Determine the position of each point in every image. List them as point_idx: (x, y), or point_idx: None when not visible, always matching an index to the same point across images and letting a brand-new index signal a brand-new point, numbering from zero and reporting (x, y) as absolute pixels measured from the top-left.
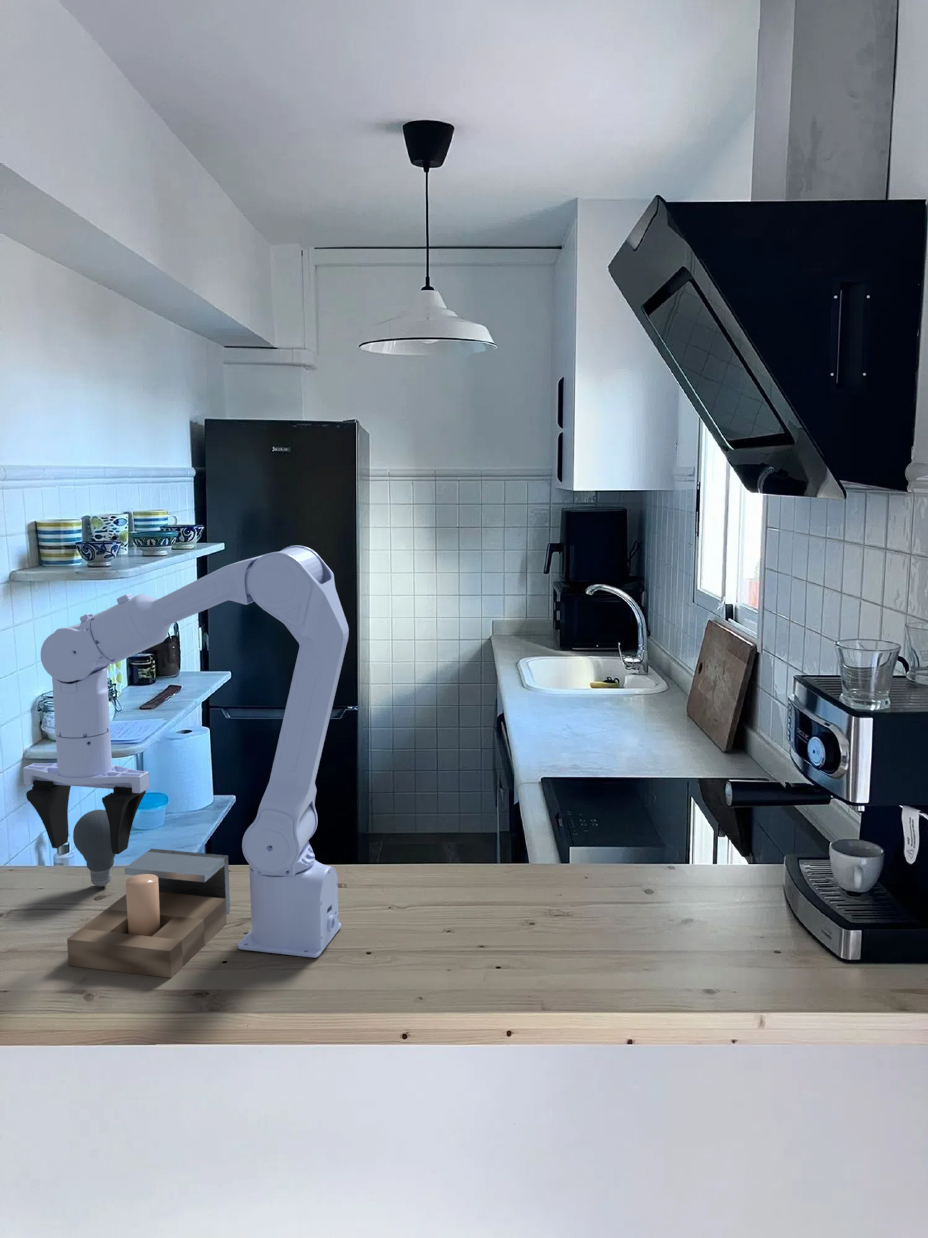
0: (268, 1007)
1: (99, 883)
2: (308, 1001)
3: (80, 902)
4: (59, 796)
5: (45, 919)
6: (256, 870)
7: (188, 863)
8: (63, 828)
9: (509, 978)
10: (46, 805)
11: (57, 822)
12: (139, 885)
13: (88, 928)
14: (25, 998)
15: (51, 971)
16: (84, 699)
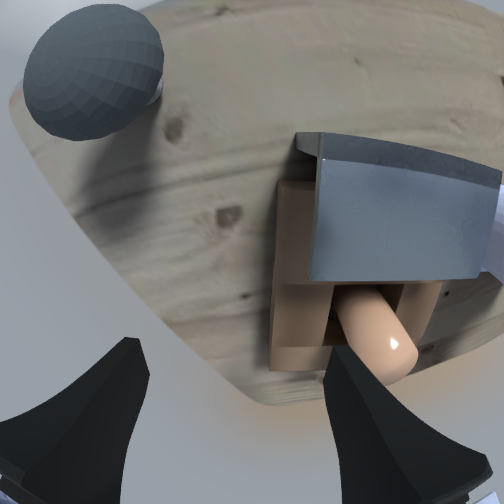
0: (472, 345)
1: (150, 103)
2: (495, 328)
3: (150, 159)
4: (87, 480)
5: (138, 234)
6: None
7: (449, 226)
8: (125, 384)
9: None
10: (118, 497)
11: (121, 421)
12: (390, 382)
13: (283, 345)
14: (260, 393)
15: (253, 356)
16: None
